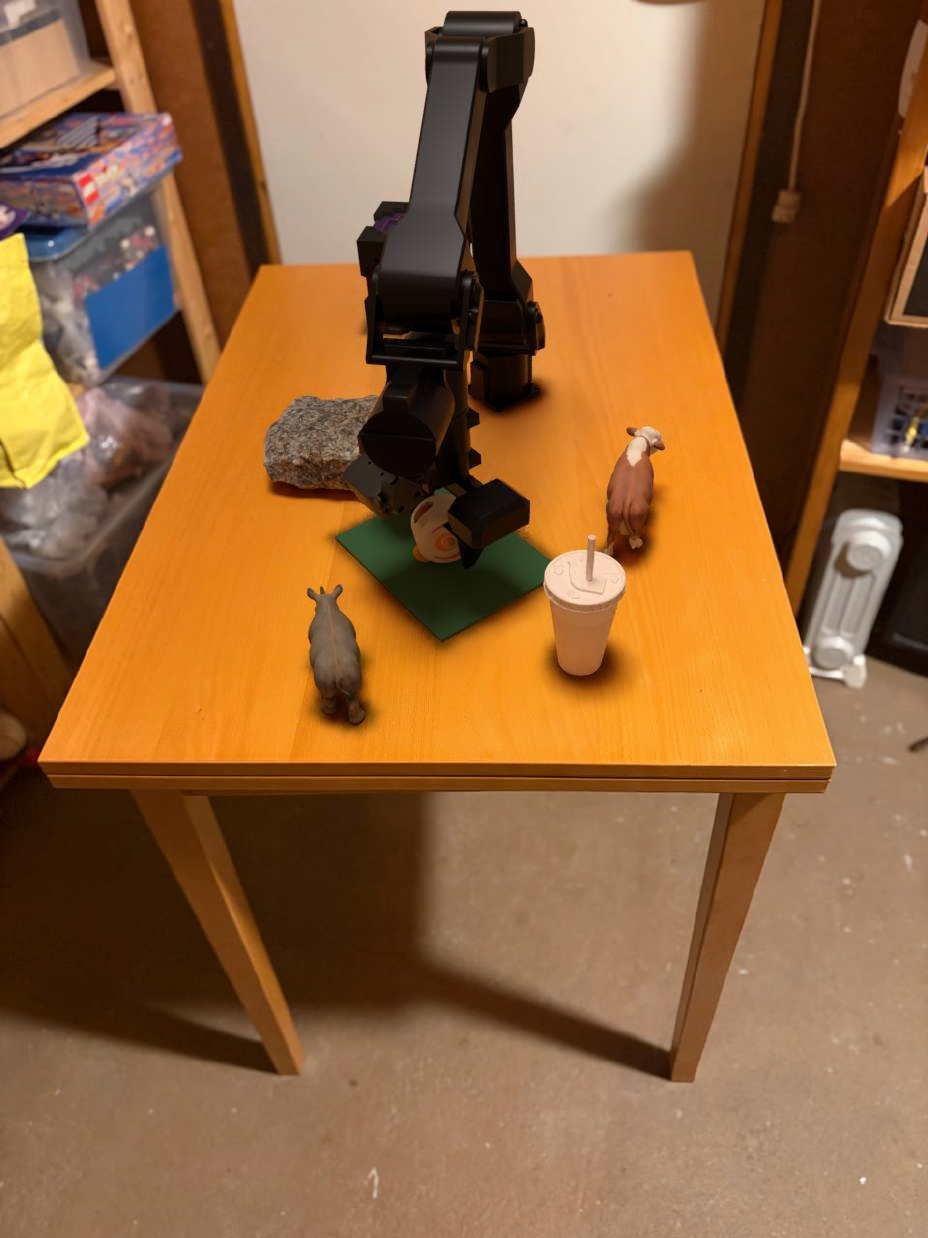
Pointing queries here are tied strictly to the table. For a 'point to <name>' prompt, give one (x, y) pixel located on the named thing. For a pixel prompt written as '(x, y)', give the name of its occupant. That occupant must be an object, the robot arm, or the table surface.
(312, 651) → the rhino figurine
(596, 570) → the smoothie
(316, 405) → the rock
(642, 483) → the bull figurine
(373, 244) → the energy cube
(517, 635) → the table surface
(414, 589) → the cloth
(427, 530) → the roller toy
